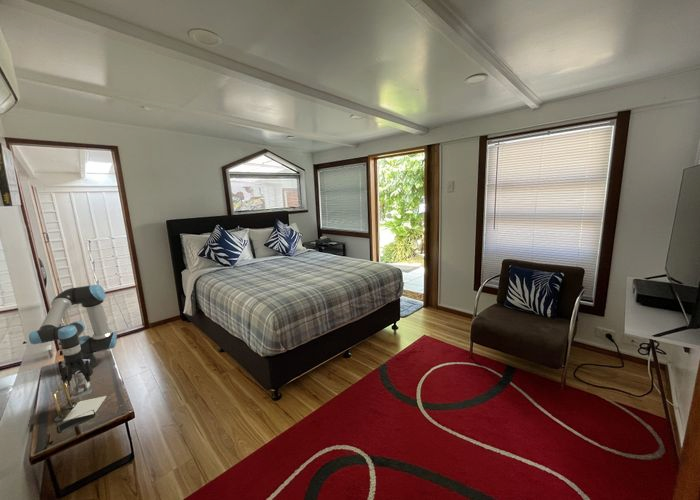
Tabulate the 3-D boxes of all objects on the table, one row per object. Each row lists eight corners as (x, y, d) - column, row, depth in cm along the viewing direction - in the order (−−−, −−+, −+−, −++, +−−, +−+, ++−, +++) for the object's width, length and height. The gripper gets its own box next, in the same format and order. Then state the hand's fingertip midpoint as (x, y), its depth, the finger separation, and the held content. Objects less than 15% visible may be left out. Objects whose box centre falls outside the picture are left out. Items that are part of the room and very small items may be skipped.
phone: (96, 415, 162) (59, 432, 150) (96, 417, 162) (59, 434, 151) (93, 409, 167) (57, 425, 155) (93, 410, 167) (58, 426, 155)
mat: (78, 402, 173) (78, 401, 173) (106, 396, 178) (106, 395, 178) (63, 421, 158) (62, 420, 158) (93, 414, 163) (93, 413, 163)
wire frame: (68, 404, 172) (62, 381, 169) (78, 402, 174) (72, 379, 170) (52, 422, 158) (45, 397, 155) (63, 420, 160) (57, 395, 156)
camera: (90, 366, 172) (86, 379, 160) (94, 383, 175) (90, 397, 162) (71, 371, 167) (65, 385, 155) (75, 388, 170) (69, 403, 158)
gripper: (46, 359, 154) (56, 396, 159) (89, 352, 160) (97, 388, 165) (55, 352, 161) (64, 388, 166) (95, 346, 167) (103, 380, 172)
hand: (80, 388), depth 165 cm, fingers closed on camera, 6 cm apart
